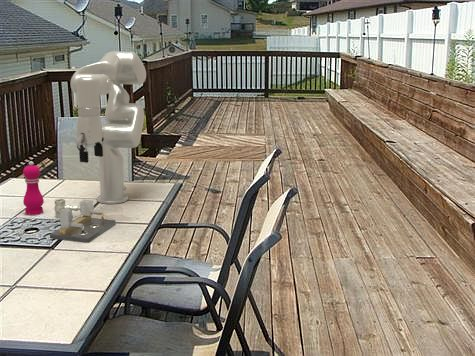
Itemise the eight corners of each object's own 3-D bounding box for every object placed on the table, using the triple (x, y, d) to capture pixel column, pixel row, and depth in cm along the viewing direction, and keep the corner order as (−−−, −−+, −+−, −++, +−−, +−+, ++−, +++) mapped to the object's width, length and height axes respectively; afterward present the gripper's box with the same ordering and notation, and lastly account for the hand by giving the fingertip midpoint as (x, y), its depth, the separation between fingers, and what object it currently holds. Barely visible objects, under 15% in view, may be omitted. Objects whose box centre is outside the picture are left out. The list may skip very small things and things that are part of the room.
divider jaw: (84, 216, 210) (84, 199, 208) (105, 218, 208) (105, 201, 206) (80, 218, 207) (80, 201, 205) (101, 220, 205) (101, 203, 203)
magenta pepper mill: (48, 211, 221) (45, 160, 216) (36, 216, 214) (32, 163, 209) (32, 209, 223) (29, 158, 218) (20, 214, 217) (16, 162, 212)
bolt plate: (80, 220, 211) (79, 196, 209) (115, 224, 208) (114, 200, 206) (50, 238, 192) (48, 212, 190) (88, 242, 189) (87, 216, 187)
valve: (52, 219, 211) (86, 219, 212) (51, 202, 210) (85, 202, 211) (57, 214, 218) (89, 214, 219) (56, 197, 216) (88, 197, 217)
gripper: (93, 108, 213) (95, 153, 217) (66, 114, 197) (68, 163, 201) (111, 109, 210) (112, 155, 215) (85, 116, 195) (87, 165, 199)
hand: (91, 159), depth 208 cm, fingers open, 9 cm apart
